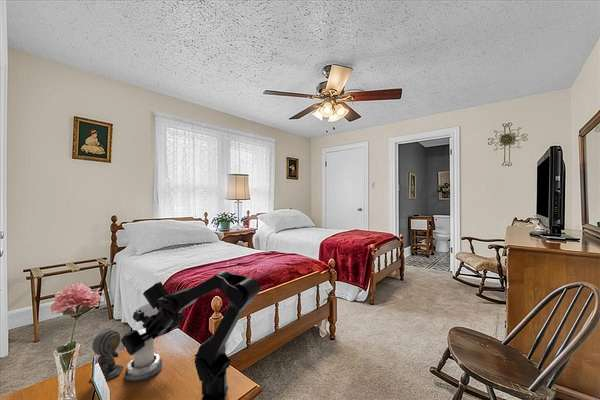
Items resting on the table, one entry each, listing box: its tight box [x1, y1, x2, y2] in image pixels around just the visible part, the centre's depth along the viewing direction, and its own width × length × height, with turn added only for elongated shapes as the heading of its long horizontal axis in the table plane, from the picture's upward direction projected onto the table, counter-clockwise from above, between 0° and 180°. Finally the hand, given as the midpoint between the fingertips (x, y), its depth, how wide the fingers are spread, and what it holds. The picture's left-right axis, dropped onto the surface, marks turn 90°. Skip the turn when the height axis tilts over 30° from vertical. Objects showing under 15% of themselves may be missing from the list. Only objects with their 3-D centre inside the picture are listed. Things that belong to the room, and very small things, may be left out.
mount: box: [124, 352, 163, 383], centre depth 94 cm, size 11×11×4 cm
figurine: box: [88, 329, 124, 383], centre depth 92 cm, size 9×10×15 cm
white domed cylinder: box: [133, 328, 155, 368], centre depth 93 cm, size 6×6×12 cm
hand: (140, 344), depth 94 cm, fingers open, 9 cm apart
